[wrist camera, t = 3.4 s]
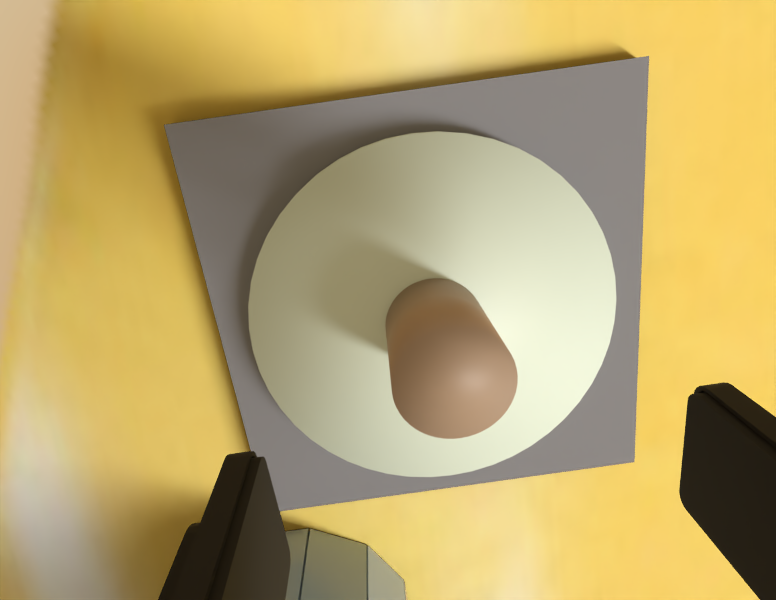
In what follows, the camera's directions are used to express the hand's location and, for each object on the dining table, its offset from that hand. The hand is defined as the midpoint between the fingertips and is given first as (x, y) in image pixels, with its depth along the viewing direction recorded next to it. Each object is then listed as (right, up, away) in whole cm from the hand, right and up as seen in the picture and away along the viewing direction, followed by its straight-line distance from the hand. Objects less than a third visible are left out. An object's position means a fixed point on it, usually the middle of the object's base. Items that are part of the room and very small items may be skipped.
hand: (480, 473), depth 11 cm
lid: (0, +3, +11) cm, 11 cm away
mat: (0, +3, +11) cm, 12 cm away
